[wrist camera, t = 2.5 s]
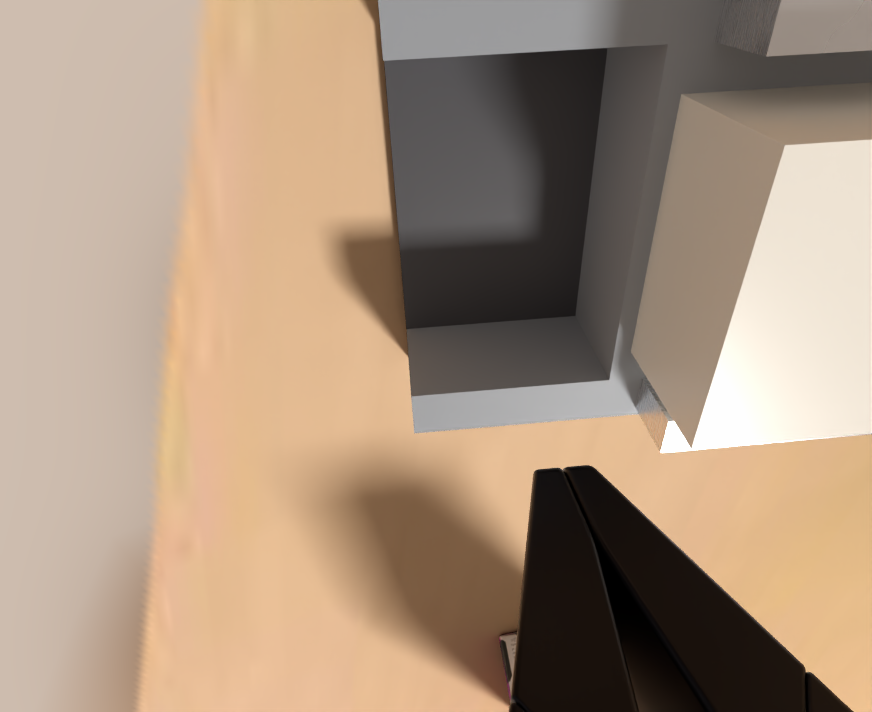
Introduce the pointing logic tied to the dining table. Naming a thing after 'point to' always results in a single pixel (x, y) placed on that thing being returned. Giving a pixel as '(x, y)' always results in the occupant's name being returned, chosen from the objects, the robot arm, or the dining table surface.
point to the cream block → (763, 267)
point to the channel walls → (768, 36)
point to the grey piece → (543, 188)
